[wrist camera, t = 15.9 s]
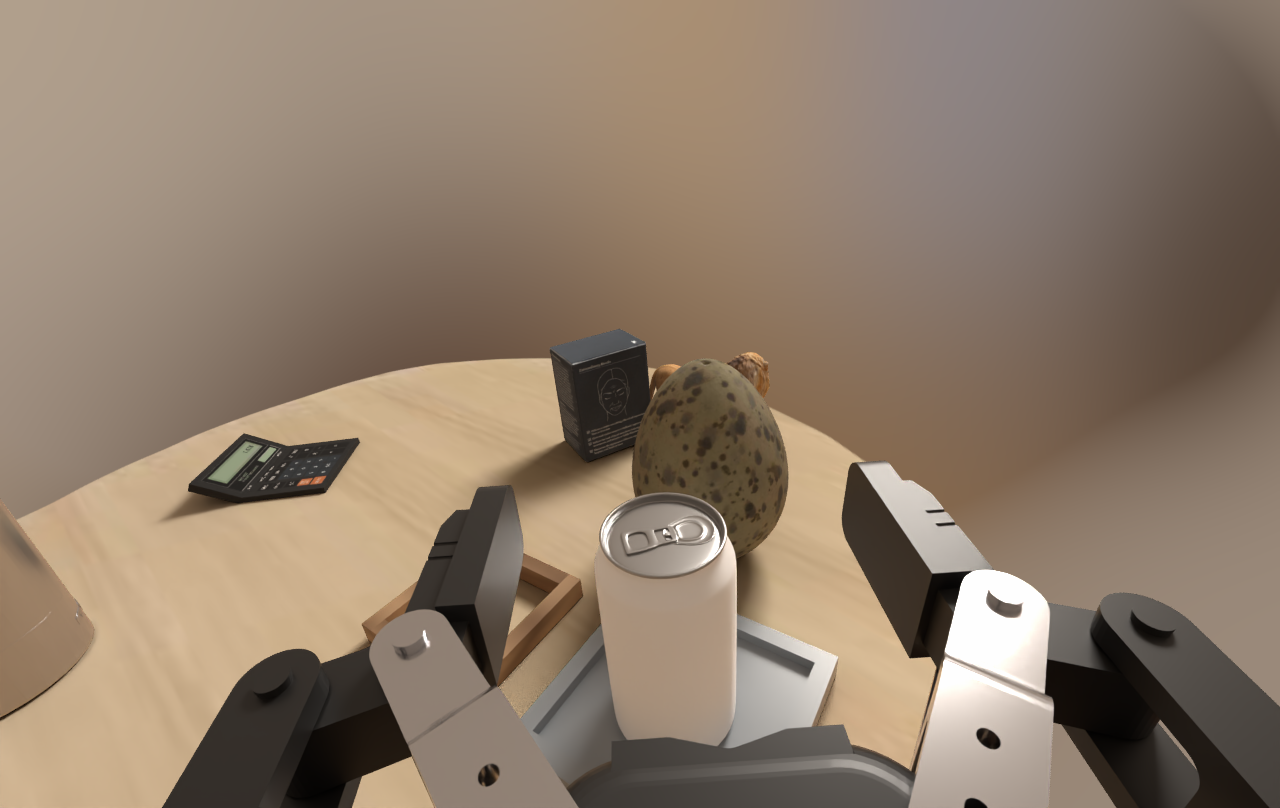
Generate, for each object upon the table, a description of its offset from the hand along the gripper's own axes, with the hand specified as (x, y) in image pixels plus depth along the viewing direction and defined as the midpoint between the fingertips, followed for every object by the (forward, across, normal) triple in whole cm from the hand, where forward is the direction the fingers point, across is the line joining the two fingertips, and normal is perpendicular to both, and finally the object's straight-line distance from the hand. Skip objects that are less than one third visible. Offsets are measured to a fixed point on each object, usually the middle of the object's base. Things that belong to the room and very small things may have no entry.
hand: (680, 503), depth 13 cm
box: (+38, +4, +22) cm, 44 cm away
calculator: (+37, +37, +23) cm, 57 cm away
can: (+8, 0, +20) cm, 22 cm away
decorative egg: (+21, -4, +21) cm, 30 cm away
